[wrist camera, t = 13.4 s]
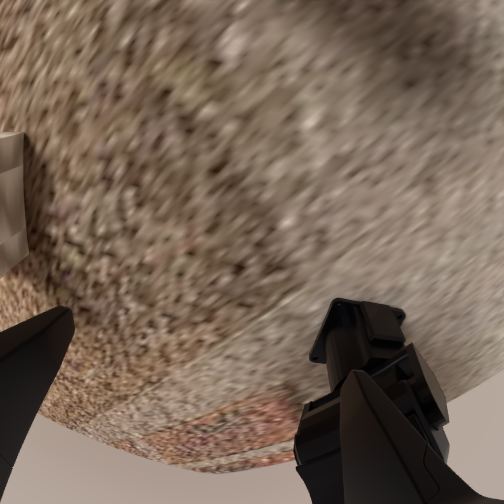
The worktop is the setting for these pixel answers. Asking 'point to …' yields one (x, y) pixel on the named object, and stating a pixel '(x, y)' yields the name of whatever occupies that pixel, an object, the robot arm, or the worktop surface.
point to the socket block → (12, 202)
